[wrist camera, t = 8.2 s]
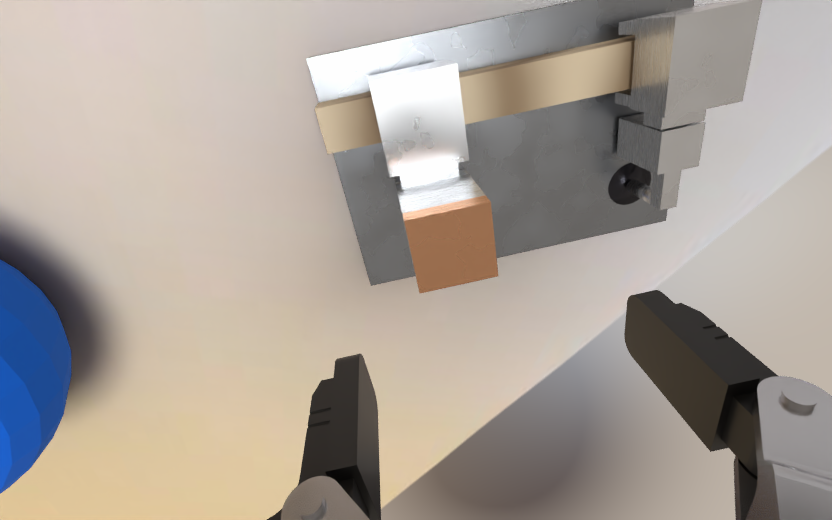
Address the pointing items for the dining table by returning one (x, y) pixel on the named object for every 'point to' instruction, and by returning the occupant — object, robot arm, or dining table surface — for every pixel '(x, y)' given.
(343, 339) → the dining table surface
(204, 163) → the dining table surface
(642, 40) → the fixed leg
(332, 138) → the divider rail
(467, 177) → the slide leg
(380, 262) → the bolt plate
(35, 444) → the vase
